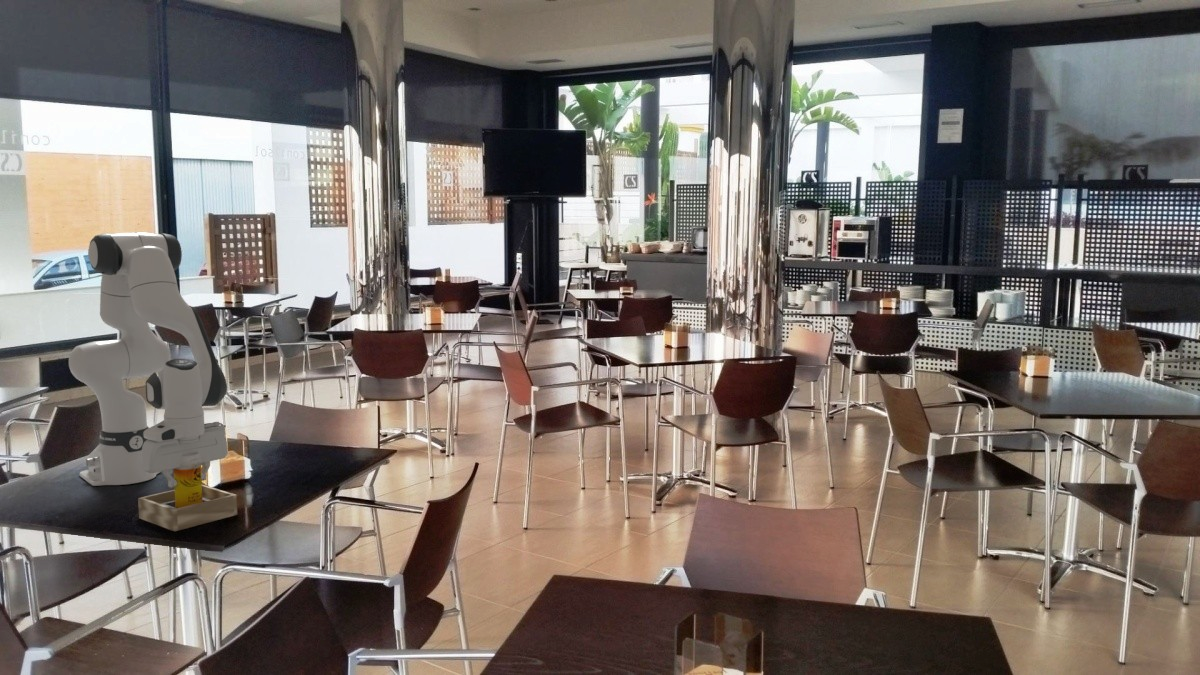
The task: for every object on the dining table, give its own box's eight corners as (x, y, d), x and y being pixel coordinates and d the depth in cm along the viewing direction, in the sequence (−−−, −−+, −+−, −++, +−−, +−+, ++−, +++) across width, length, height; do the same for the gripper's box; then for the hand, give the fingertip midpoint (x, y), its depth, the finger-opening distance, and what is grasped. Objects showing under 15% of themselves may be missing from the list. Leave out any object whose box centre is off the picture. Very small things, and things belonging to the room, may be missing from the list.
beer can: (193, 518, 225) (190, 456, 224) (170, 516, 226) (167, 455, 225) (208, 510, 231) (205, 450, 229) (185, 509, 232) (183, 449, 231)
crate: (139, 518, 228) (138, 498, 227) (201, 502, 240) (200, 483, 240) (174, 531, 218) (173, 510, 217) (237, 514, 231) (236, 494, 230)
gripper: (217, 418, 237) (219, 472, 238) (136, 432, 220) (139, 490, 222) (231, 421, 233) (233, 476, 235) (150, 436, 217) (153, 495, 218)
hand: (187, 483), depth 228 cm, fingers closed on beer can, 6 cm apart
